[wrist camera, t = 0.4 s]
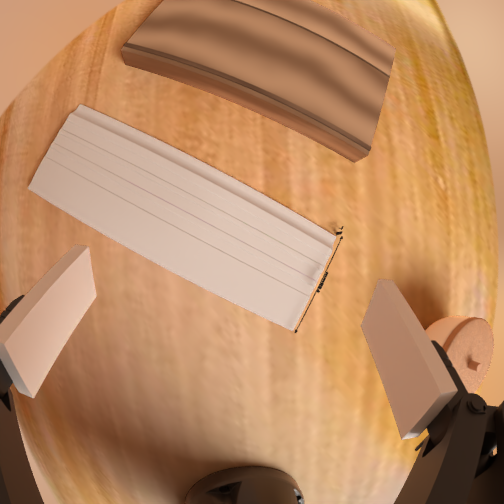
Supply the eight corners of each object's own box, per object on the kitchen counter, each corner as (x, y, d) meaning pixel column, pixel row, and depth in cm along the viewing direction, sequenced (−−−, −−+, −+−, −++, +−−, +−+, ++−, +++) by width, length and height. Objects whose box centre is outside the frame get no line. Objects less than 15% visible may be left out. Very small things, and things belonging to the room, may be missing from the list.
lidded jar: (464, 330, 35) (511, 343, 26) (427, 396, 34) (471, 420, 25) (427, 293, 34) (482, 302, 24) (384, 368, 33) (433, 396, 23)
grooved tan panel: (354, 162, 32) (368, 155, 29) (125, 64, 27) (120, 49, 24) (384, 58, 33) (396, 48, 30) (201, -22, 28) (202, -37, 25)
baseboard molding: (90, 96, 27) (34, 191, 26) (82, 84, 24) (21, 186, 23) (338, 225, 32) (288, 328, 31) (351, 223, 29) (297, 335, 28)
